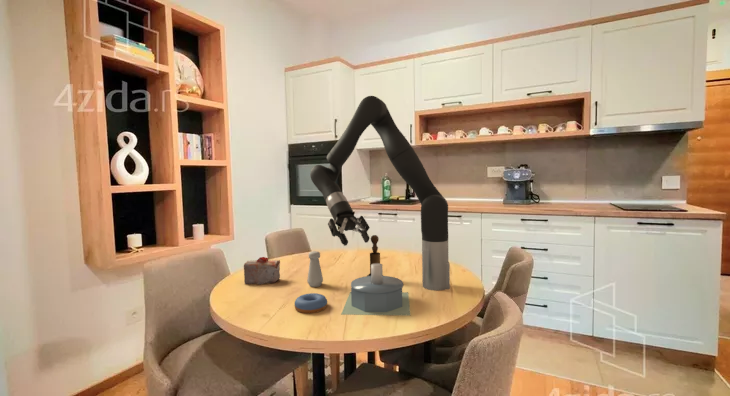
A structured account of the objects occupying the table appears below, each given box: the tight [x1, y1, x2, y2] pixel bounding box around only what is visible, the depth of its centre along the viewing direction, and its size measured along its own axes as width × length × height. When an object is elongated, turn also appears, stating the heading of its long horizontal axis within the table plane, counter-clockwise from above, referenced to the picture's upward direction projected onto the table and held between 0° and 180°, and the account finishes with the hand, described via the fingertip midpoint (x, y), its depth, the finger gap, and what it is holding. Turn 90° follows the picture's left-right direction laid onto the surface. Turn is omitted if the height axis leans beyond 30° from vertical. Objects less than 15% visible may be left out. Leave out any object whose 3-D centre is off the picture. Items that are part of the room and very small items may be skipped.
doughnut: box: [294, 292, 328, 314], centre depth 106 cm, size 10×10×5 cm
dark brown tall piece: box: [366, 234, 381, 276], centre depth 132 cm, size 7×6×18 cm
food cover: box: [350, 262, 404, 312], centre depth 109 cm, size 16×16×12 cm
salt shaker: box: [307, 250, 324, 288], centre depth 128 cm, size 6×6×13 cm
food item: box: [243, 256, 281, 285], centre depth 135 cm, size 14×8×10 cm, turn 92°
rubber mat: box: [340, 291, 411, 317], centre depth 109 cm, size 20×20×1 cm
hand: (357, 242), depth 117 cm, fingers open, 8 cm apart
